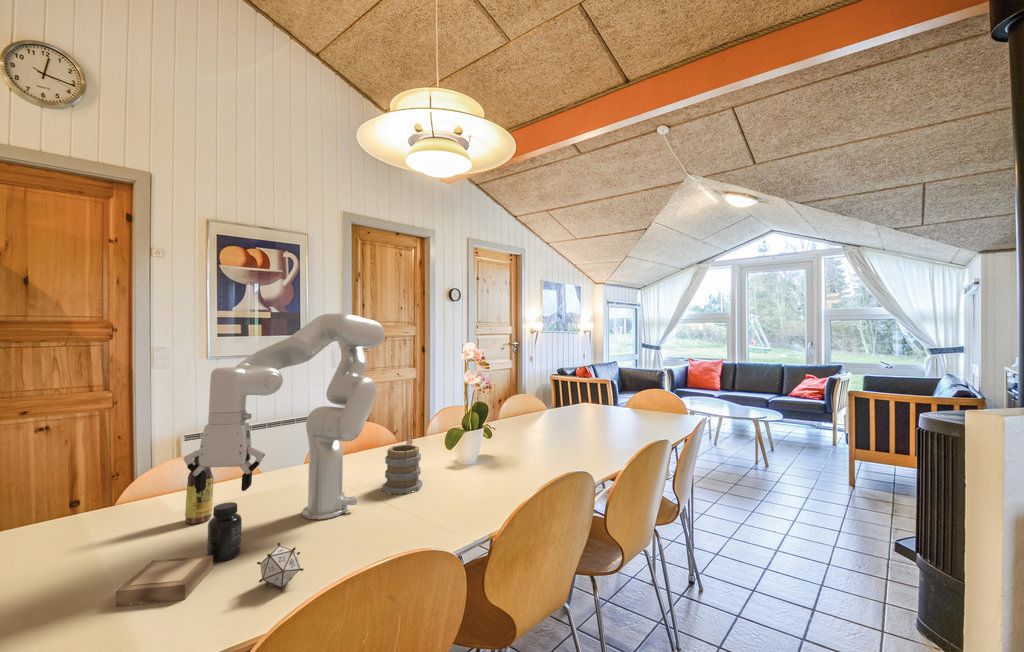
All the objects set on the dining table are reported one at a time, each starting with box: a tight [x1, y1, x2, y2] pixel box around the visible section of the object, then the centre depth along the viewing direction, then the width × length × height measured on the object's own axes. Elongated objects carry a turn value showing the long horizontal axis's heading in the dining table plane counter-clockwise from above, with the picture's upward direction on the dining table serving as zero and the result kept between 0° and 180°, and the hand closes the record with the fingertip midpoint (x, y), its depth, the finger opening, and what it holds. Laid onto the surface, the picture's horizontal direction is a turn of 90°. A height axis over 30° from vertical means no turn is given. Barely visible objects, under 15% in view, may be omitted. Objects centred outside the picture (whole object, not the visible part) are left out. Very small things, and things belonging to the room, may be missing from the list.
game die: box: [256, 542, 305, 593], centre depth 93 cm, size 9×8×10 cm
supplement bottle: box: [206, 501, 243, 564], centre depth 106 cm, size 7×7×12 cm
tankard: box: [382, 437, 423, 494], centre depth 158 cm, size 20×13×15 cm, turn 179°
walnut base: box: [115, 555, 214, 607], centre depth 93 cm, size 12×12×3 cm
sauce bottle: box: [184, 449, 215, 525], centre depth 126 cm, size 6×6×20 cm
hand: (223, 490), depth 105 cm, fingers open, 9 cm apart
